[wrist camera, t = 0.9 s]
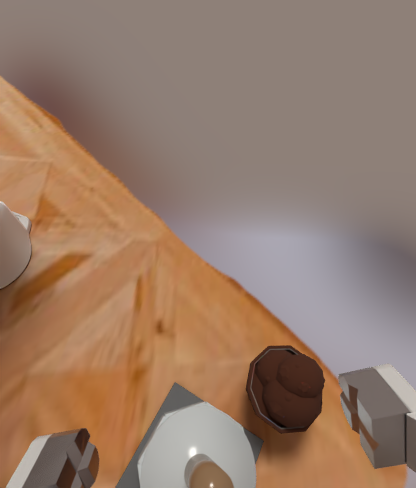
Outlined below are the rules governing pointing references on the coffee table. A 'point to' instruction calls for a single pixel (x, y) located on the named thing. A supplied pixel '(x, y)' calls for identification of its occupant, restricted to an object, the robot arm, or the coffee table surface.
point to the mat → (175, 400)
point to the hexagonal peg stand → (197, 451)
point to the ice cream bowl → (285, 388)
